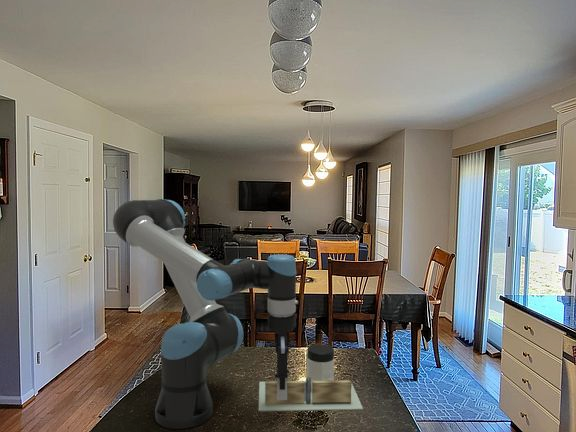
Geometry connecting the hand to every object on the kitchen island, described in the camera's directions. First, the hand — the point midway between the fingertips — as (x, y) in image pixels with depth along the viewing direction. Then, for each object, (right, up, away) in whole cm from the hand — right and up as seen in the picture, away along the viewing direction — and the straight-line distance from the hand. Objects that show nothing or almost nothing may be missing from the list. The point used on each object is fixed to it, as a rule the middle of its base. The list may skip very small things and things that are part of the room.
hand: (282, 398), depth 113 cm
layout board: (+8, -4, +11) cm, 14 cm away
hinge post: (+7, -4, +6) cm, 10 cm away
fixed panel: (+14, -4, +6) cm, 16 cm away
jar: (+11, -3, +15) cm, 19 cm away
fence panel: (+1, -3, +5) cm, 6 cm away
